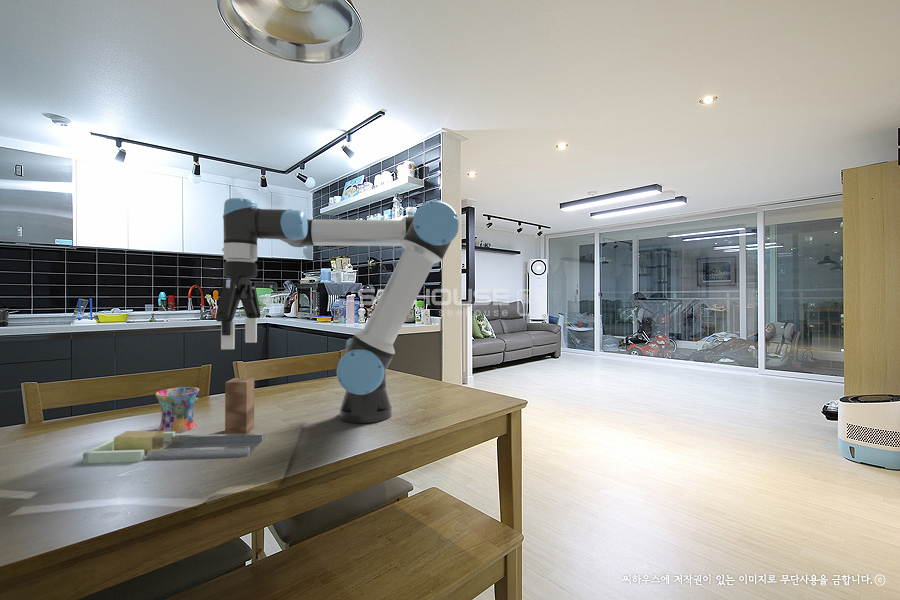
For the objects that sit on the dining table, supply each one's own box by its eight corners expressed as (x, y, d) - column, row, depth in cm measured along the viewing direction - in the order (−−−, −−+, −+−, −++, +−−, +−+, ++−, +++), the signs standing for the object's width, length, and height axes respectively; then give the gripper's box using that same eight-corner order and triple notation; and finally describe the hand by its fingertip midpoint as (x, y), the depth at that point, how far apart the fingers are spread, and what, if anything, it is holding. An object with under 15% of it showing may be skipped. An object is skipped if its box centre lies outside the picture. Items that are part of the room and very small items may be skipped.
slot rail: (264, 442, 94) (264, 431, 94) (246, 461, 83) (246, 449, 83) (176, 444, 92) (176, 434, 92) (145, 464, 81) (145, 452, 81)
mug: (191, 436, 98) (191, 394, 97) (148, 440, 95) (148, 396, 95) (207, 421, 109) (207, 383, 109) (168, 424, 107) (168, 385, 106)
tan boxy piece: (163, 448, 88) (163, 430, 88) (151, 455, 84) (152, 437, 84) (144, 449, 88) (144, 431, 88) (131, 456, 84) (131, 437, 84)
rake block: (254, 431, 102) (254, 377, 102) (246, 438, 97) (246, 382, 97) (233, 432, 101) (234, 378, 101) (225, 439, 96) (225, 382, 96)
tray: (175, 444, 93) (175, 431, 93) (140, 465, 81) (141, 451, 81) (125, 445, 91) (125, 432, 91) (82, 468, 79) (82, 453, 79)
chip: (146, 448, 88) (146, 430, 88) (133, 455, 85) (133, 436, 84) (127, 448, 88) (127, 431, 88) (113, 455, 84) (113, 437, 84)
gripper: (245, 265, 110) (245, 340, 111) (198, 256, 86) (198, 352, 86) (273, 265, 111) (272, 339, 111) (234, 256, 86) (233, 352, 87)
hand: (240, 345), depth 99 cm, fingers open, 13 cm apart
